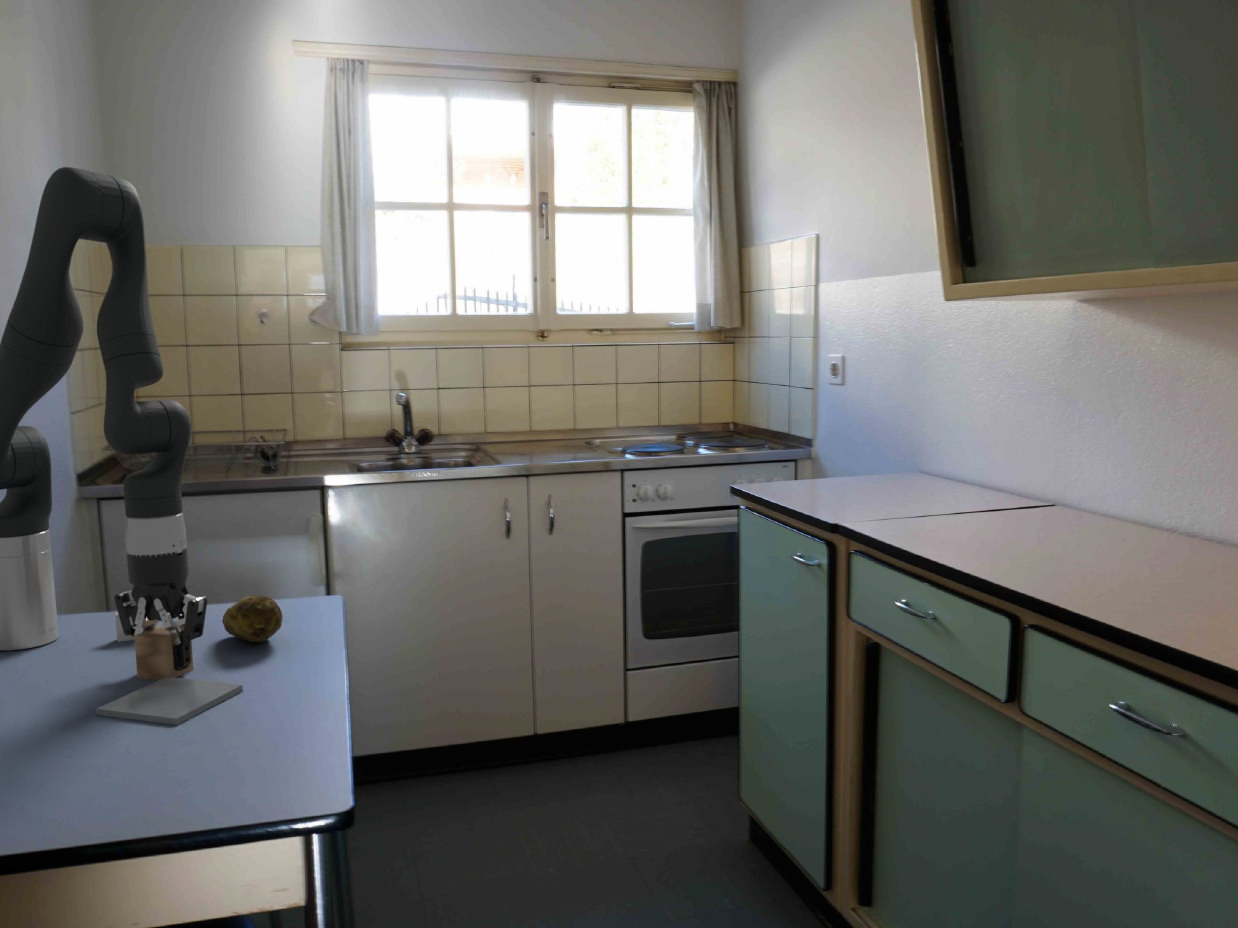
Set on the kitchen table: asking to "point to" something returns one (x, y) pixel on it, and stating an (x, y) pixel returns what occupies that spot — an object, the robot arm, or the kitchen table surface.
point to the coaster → (170, 700)
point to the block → (157, 655)
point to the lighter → (120, 633)
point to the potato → (253, 618)
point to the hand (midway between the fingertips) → (165, 666)
